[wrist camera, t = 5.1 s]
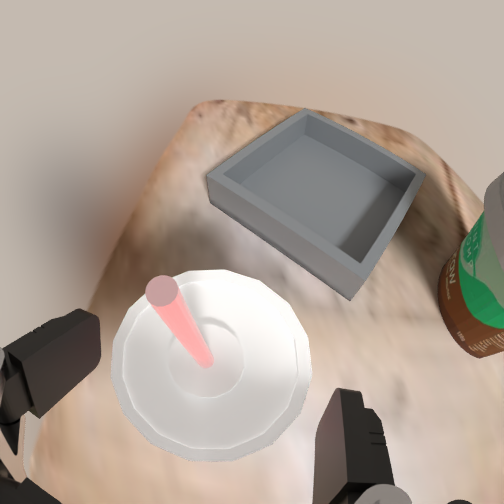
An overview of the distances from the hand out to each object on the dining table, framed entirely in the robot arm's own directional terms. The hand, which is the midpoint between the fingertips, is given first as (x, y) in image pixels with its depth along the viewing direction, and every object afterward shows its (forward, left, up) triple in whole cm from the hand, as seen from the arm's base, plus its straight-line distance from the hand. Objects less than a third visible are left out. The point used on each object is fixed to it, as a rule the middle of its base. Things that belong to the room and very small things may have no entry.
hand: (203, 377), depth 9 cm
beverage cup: (0, 0, -8) cm, 8 cm away
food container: (-9, -16, -8) cm, 20 cm away
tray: (+4, -16, -8) cm, 18 cm away
